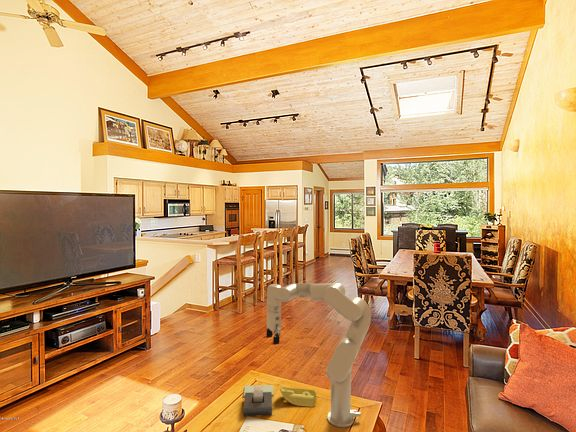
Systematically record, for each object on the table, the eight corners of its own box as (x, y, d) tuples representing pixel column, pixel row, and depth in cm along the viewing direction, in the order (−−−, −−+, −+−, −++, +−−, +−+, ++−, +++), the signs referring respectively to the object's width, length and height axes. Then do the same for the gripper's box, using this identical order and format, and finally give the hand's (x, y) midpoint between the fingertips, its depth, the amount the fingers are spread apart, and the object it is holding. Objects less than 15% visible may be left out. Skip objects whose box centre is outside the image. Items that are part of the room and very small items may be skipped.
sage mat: (272, 386, 189) (272, 384, 189) (273, 396, 179) (273, 394, 179) (244, 387, 188) (244, 385, 188) (243, 397, 178) (243, 395, 178)
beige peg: (262, 404, 171) (262, 385, 171) (262, 410, 166) (262, 390, 166) (253, 405, 171) (253, 385, 171) (253, 410, 166) (253, 390, 166)
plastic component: (314, 390, 181) (316, 391, 172) (314, 405, 178) (315, 407, 169) (279, 386, 182) (278, 387, 173) (277, 402, 179) (277, 403, 170)
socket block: (271, 399, 176) (271, 391, 176) (272, 415, 162) (272, 407, 162) (245, 400, 175) (245, 392, 175) (243, 416, 161) (243, 408, 161)
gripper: (287, 312, 167) (285, 346, 167) (274, 303, 182) (273, 333, 183) (273, 313, 164) (272, 348, 164) (261, 304, 179) (260, 335, 180)
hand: (272, 340), depth 173 cm, fingers open, 9 cm apart
